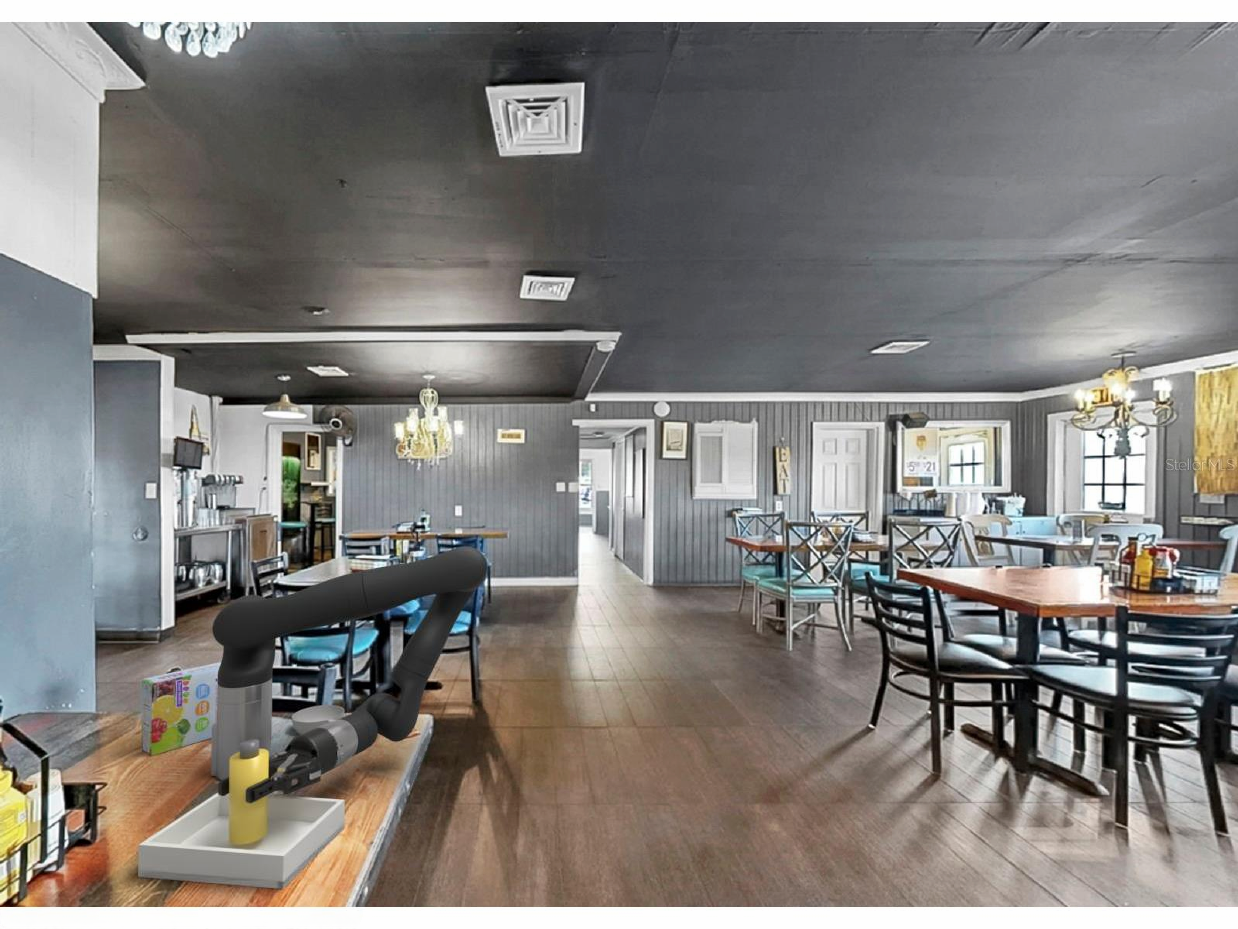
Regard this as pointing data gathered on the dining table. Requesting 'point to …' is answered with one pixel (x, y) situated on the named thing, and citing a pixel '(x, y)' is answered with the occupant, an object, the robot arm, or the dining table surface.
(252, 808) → the squeeze bottle
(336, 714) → the small pan
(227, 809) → the tray
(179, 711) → the snack box
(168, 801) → the dining table surface
